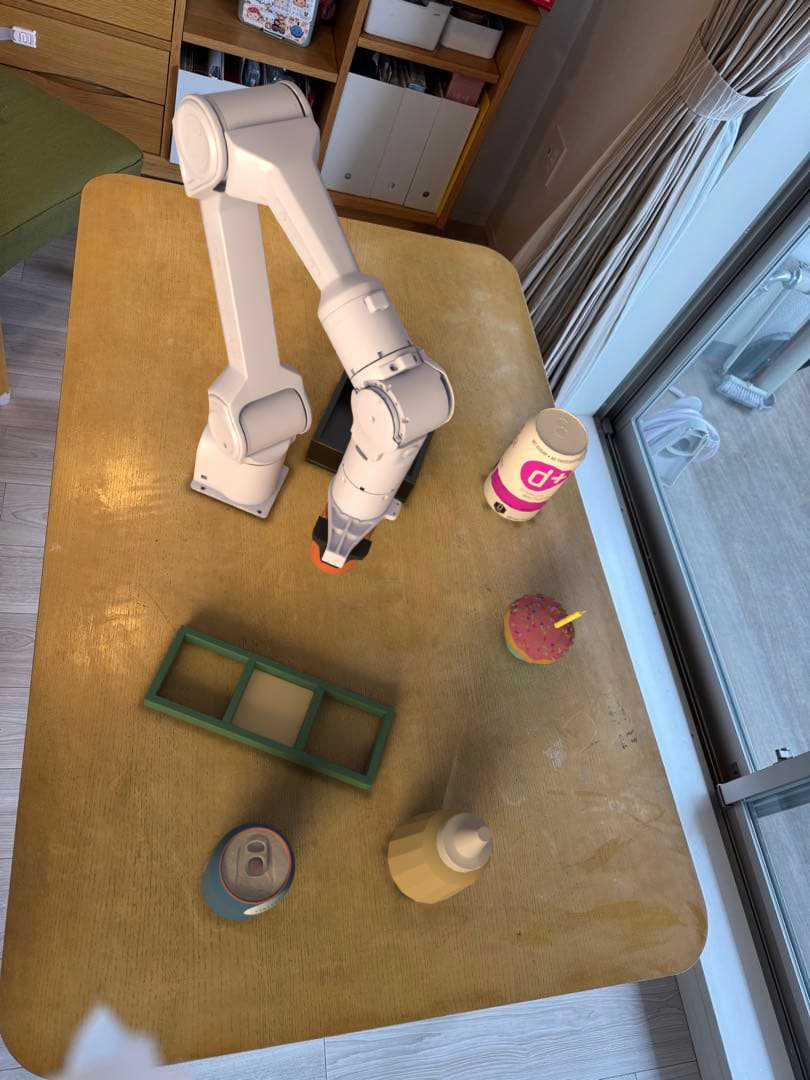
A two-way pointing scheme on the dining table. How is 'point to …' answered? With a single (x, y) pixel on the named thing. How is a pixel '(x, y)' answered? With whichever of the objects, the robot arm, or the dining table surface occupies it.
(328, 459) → the open box
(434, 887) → the squeeze bottle
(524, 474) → the supplement can
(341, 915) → the dining table surface
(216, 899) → the soda can
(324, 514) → the tumbler
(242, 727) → the rack
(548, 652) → the cupcake
